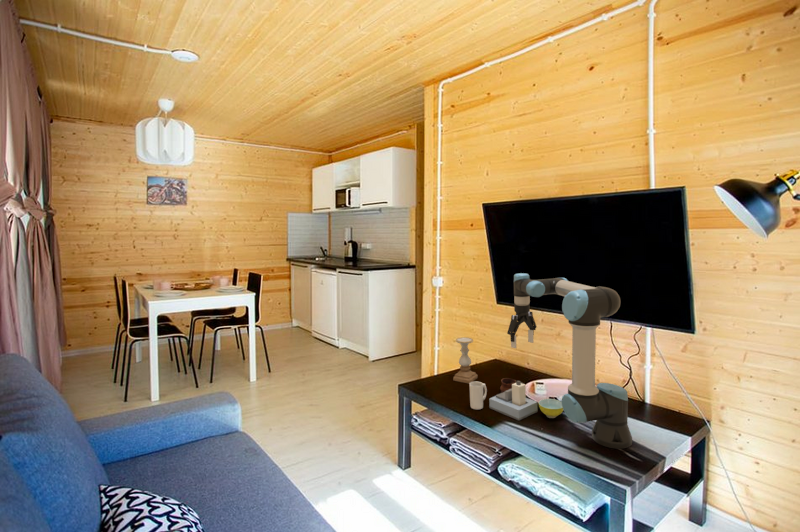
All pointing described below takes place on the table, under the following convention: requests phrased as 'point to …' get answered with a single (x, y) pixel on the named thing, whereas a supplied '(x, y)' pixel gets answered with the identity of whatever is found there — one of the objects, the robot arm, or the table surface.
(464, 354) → the candle holder
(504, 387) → the ceramic pot
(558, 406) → the bowl
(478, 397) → the mug
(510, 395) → the grey wedge block
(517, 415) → the socket
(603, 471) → the table surface
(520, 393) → the beige square bottle
